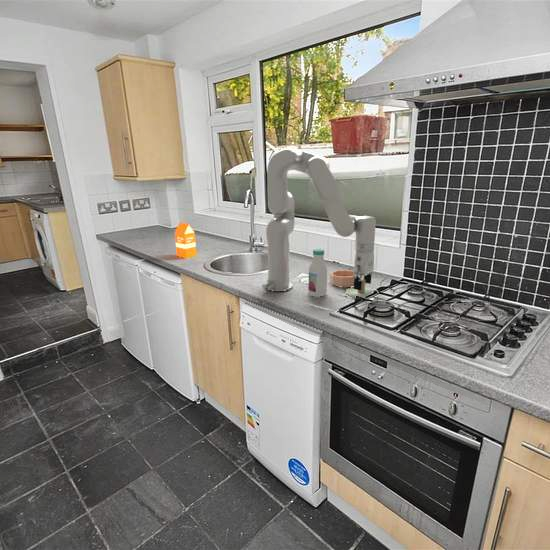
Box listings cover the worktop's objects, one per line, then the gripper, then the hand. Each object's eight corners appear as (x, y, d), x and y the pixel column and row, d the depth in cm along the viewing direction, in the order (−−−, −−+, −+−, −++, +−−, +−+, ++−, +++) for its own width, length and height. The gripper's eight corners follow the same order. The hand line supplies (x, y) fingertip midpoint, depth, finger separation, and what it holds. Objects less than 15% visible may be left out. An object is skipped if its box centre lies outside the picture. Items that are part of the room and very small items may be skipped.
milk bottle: (324, 291, 158) (326, 247, 152) (327, 298, 151) (329, 252, 145) (307, 292, 158) (308, 247, 152) (309, 298, 151) (310, 252, 144)
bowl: (350, 289, 159) (350, 278, 157) (326, 285, 166) (326, 274, 164) (361, 282, 168) (361, 272, 166) (338, 278, 175) (338, 268, 174)
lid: (369, 302, 145) (370, 287, 143) (340, 295, 153) (340, 281, 151) (381, 292, 155) (382, 278, 153) (353, 286, 163) (354, 273, 161)
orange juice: (186, 258, 211) (183, 225, 205) (176, 256, 216) (173, 223, 210) (196, 256, 217) (194, 222, 210) (187, 253, 222) (184, 221, 216)
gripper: (364, 252, 139) (362, 294, 144) (381, 243, 152) (378, 282, 157) (346, 250, 143) (345, 290, 148) (364, 241, 156) (362, 279, 161)
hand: (362, 286), depth 153 cm, fingers open, 9 cm apart
